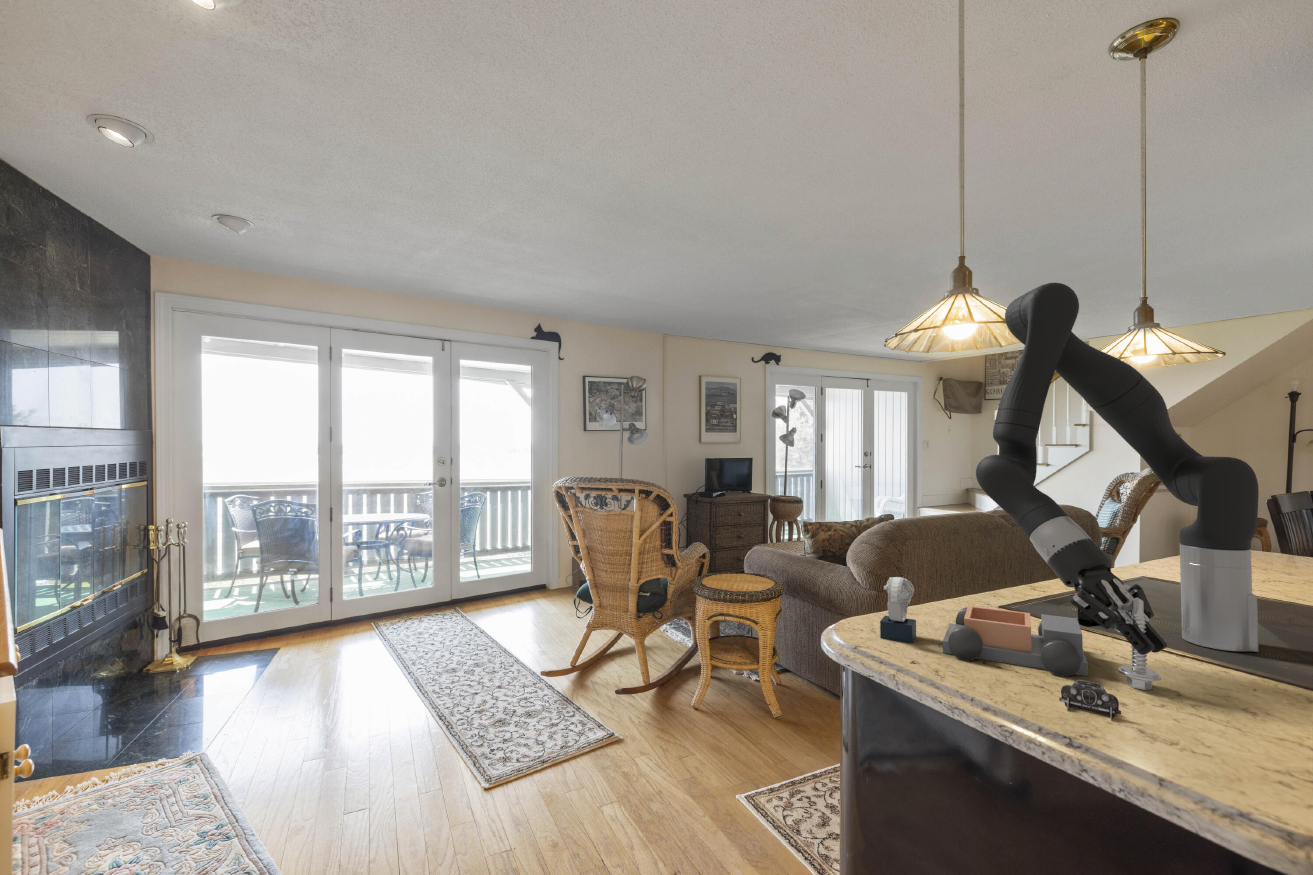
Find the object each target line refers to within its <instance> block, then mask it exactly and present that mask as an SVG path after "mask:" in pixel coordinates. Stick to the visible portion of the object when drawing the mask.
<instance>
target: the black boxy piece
mask: <svg viewBox="0 0 1313 875" xmlns="http://www.w3.org/2000/svg"><path fill="white" fill-rule="evenodd" d="M1097 614H1098V615H1099V613H1097ZM1076 618H1077V621H1078V623H1079V626H1083V627H1086V628H1091V627H1093V628H1094V627H1102V626H1101V625H1100V624H1098V623H1097V622H1096V621H1094V620H1093V619H1092V618H1090V617H1089V616H1088V615H1086V614H1085V613H1084V612H1082V611H1081V610H1080V609H1078V608H1077V617H1076ZM1104 619H1106V618H1104Z"/></svg>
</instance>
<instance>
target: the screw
mask: <svg viewBox="0 0 1313 875" xmlns="http://www.w3.org/2000/svg"><path fill="white" fill-rule="evenodd" d="M1130 616H1131V617H1132V618H1131V619H1132V621H1133V624H1132V625H1134V624H1136V625H1137V626H1138V627H1139V628H1140V629H1141V631H1142V632H1143V633H1144V634H1145V632H1147V631H1146V630H1145V628H1146V626H1145V624H1146V622H1145V620H1146V618H1144V605H1143V600H1141V599H1139V598H1138V597H1137V598H1135V599H1132V614H1131V613H1130ZM1145 635H1146V634H1145ZM1146 636H1147V635H1146ZM1130 648H1131V650H1130V652H1131V654H1130V656H1131V658H1130V660H1131V661H1132V662H1130V664H1122V665H1120V666H1118V668H1117V671H1118V672H1119V674H1121V675H1123V676H1124V677H1126V684H1127V685H1128V686H1130V687H1131V688H1132V689H1136V690H1138V689H1139V690H1142V691H1149V690H1153V682H1157V681H1161V680H1162V675H1161V674H1160V673H1159V672H1157V671H1156V670H1154V669H1152V668H1149V667H1147V665H1148V663H1147V661H1148V659H1147V657H1148V654H1144V655H1141V654H1139V653H1138V651H1137V650H1136V649H1135V648H1134V647H1133V646H1132V645H1131V646H1130Z"/></svg>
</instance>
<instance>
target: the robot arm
mask: <svg viewBox="0 0 1313 875" xmlns="http://www.w3.org/2000/svg"><path fill="white" fill-rule="evenodd" d="M1079 312H1080V302H1079V297H1078V296H1077V294H1076V292H1075V291H1074V290H1073V288H1072V287H1070V286H1069V285H1067V284H1065V283H1061V282H1048V283H1044V284H1042V285H1039V286H1037V287H1036V288H1033V289H1032V290H1030V291H1028V292H1025V293H1023V294H1022V295H1020V296H1019V297H1017V298H1015V299H1014V300H1012V301H1011V302H1010V303H1009V304H1008V305H1007V307H1006V308H1005V313H1004V321H1005V325H1006V327H1007V329H1008V330H1009V332H1010V333H1011V334H1012V335H1013V337H1014V338H1015V339H1017V340H1018V341H1019V342H1020V343H1022V344H1023V345H1024V348H1023V351H1022V354H1021V355H1020V356H1021V357H1020V359H1019V361H1018V363H1017V366H1016V368H1015V370H1014V372H1013V373H1012V375H1011V377H1010V379H1009V381H1008V383H1007V385H1006V386H1005V388H1004V391H1003V393H1002V394H1001V398H1000V401H999V403H998V408H997V411H996V412H997V413H996V415H995V420H994V426H993V429H992V439H993V440H994V441H995V442H996V443H997V445H998V452H999V453H998V454H990V455H989V456H988V455H987V456H985V457H984V458H982V459H981V460H979V462H978V464H977V466H976V468H975V477H976V478H975V479H976V481H977V483H978V485H979V487H980V488H981V490H982V491H983V492H984V493H985V494H986V495H987V496H988V497H989V498H990V499H991V500H992V501H993V502H994V503H995V504H996V505H997V506H999V508H1001V509H1002V510H1003V511H1004V512H1005V513H1007V515H1009V516H1010V517H1011V518H1012V520H1014V522H1015V523H1016V525H1017V526H1018V527H1019V528H1020V530H1021V531H1022V532H1023V533H1024V535H1025V536H1026V537H1027V539H1028V540H1030V542H1031V543H1032V545H1033V547H1034V549H1035V550H1036V552H1037V553H1038V554H1039V556H1041V558H1042V559H1043V560H1044V562H1045V563H1046V564H1047V565H1048V566H1049V568H1050V569H1051V570H1052V571H1053V572H1054V574H1055V575H1056V576H1057V577H1058V579H1059V580H1060V581H1061V582H1062V584H1063V585H1064V586H1066V587H1068V588H1074V591H1075V592H1076V593H1075V594H1074V595H1072V596H1071V597H1070V598H1069V603H1071V605H1073V606H1075V607H1076V609H1077V610H1078V609H1080V610H1081V611H1082V612H1084V613H1085V614H1086V615H1088V616H1089V617H1090V618H1092V619H1093V620H1094V621H1096V622H1097V623H1098V624H1100V625H1101V626H1100V627H1103V628H1104V629H1105V630H1109V629H1114V631H1116V632H1118V633H1121V634H1122V635H1123V637H1124V638H1125V639H1126V640H1127V641H1128V643H1129V644H1130V645H1131V646H1133V647H1134V648H1135V649H1136V650H1137V651H1138V653H1139V654H1141V655H1144V654H1146V655H1148V654H1149V653H1152V654H1153V653H1154V654H1155V653H1160V652H1161V651H1163V650H1165V649H1166V648H1167V647H1168V644H1167V642H1166V641H1165V640H1164V638H1163V637H1161V636H1160V633H1158V632H1157V631H1156V630H1155V628H1154V627H1153V626H1152V625H1151V623H1150V620H1151V619H1152V618H1154V617H1155V613H1154V611H1153V609H1152V607H1151V605H1150V601H1148V598H1147V596H1146V594H1145V592H1144V589H1143V588H1142V586H1141V585H1139V584H1136V583H1135V584H1133V585H1132V586H1130V585H1128V584H1125V583H1124V582H1123V580H1122V579H1120V577H1117V576H1116V575H1115V574H1114V573H1113V572H1112V570H1111V569H1112V566H1113V562H1112V560H1111V559H1110V558H1109V557H1108V555H1107V554H1106V553H1105V552H1104V551H1103V550H1102V549H1101V547H1100V546H1098V544H1097V543H1096V542H1095V541H1094V540H1093V539H1092V538H1091V537H1090V536H1089V534H1087V533H1086V531H1085V530H1084V529H1083V528H1082V527H1081V526H1080V525H1079V524H1077V523H1076V522H1075V521H1074V520H1073V519H1072V518H1071V517H1070V516H1069V515H1068V514H1067V513H1066V512H1065V510H1064V509H1063V508H1062V507H1061V506H1060V505H1059V504H1058V503H1057V502H1056V501H1055V500H1054V499H1053V497H1050V496H1049V495H1047V494H1046V493H1044V492H1042V491H1041V490H1040V489H1038V488H1037V487H1036V486H1035V485H1034V484H1035V482H1036V478H1037V472H1038V470H1037V468H1038V467H1037V466H1038V462H1037V461H1038V459H1037V458H1038V453H1037V438H1038V434H1039V430H1040V426H1041V422H1042V417H1043V412H1044V407H1045V404H1046V399H1047V397H1048V393H1049V389H1050V386H1051V383H1052V380H1053V377H1054V374H1055V373H1057V374H1058V375H1059V376H1060V377H1061V378H1062V379H1063V380H1064V381H1065V382H1066V383H1067V384H1068V385H1069V386H1070V387H1071V388H1072V389H1073V390H1075V392H1077V394H1079V396H1080V397H1081V398H1082V399H1083V400H1084V401H1085V402H1086V403H1087V405H1089V406H1090V408H1092V409H1093V411H1094V412H1096V413H1097V415H1098V416H1099V417H1100V418H1101V419H1103V421H1105V422H1106V423H1107V424H1108V425H1109V426H1110V427H1111V428H1112V429H1113V430H1114V431H1115V432H1116V433H1117V434H1118V435H1119V436H1120V437H1121V438H1122V439H1123V440H1124V441H1125V442H1126V443H1127V444H1128V445H1129V446H1130V447H1131V448H1132V449H1133V450H1134V451H1135V452H1136V453H1137V454H1138V455H1140V457H1141V458H1142V459H1143V460H1144V461H1145V463H1146V464H1147V465H1148V466H1149V468H1150V469H1151V470H1152V471H1153V473H1154V474H1155V476H1157V478H1158V479H1159V480H1160V481H1161V483H1162V484H1163V486H1164V487H1165V488H1166V489H1167V490H1168V491H1169V492H1170V493H1171V495H1172V496H1173V497H1174V498H1175V499H1177V500H1179V501H1180V502H1182V503H1185V504H1187V505H1190V506H1194V507H1197V512H1196V514H1197V515H1196V519H1195V520H1194V521H1193V523H1191V524H1189V525H1187V526H1184V527H1182V528H1181V529H1180V530H1179V533H1178V534H1179V535H1178V536H1179V568H1180V569H1179V570H1180V572H1179V573H1180V576H1179V577H1180V604H1181V605H1180V606H1181V608H1180V609H1181V612H1180V613H1181V626H1180V627H1181V638H1182V639H1183V640H1185V641H1186V642H1189V643H1191V644H1194V645H1197V646H1201V647H1206V648H1211V649H1215V650H1221V651H1229V652H1230V651H1231V652H1254V653H1259V651H1260V650H1259V620H1258V618H1259V617H1258V597H1257V595H1256V594H1254V593H1253V575H1252V572H1253V571H1252V570H1253V568H1252V540H1253V538H1254V537H1255V534H1256V532H1257V529H1258V521H1259V520H1258V519H1259V518H1258V515H1259V483H1258V482H1259V481H1258V477H1257V475H1256V472H1255V471H1254V469H1253V468H1252V466H1251V465H1250V464H1249V463H1247V462H1246V461H1245V460H1242V459H1241V458H1237V457H1231V456H1205V455H1203V454H1200V453H1199V452H1198V451H1197V450H1195V449H1194V448H1192V446H1190V445H1189V444H1188V443H1187V441H1185V440H1184V439H1183V438H1182V437H1181V436H1180V435H1179V434H1178V432H1177V431H1176V429H1175V428H1174V426H1173V424H1172V422H1171V420H1170V414H1169V412H1168V411H1169V410H1168V407H1167V404H1166V402H1165V399H1164V398H1163V396H1162V394H1161V393H1160V391H1158V389H1156V387H1155V386H1153V385H1152V383H1151V382H1150V381H1149V380H1148V379H1147V378H1146V377H1145V376H1144V375H1143V374H1141V372H1140V371H1138V370H1137V369H1136V368H1134V367H1133V366H1132V365H1130V364H1129V363H1127V362H1126V361H1123V360H1121V359H1119V358H1117V357H1115V356H1114V355H1110V354H1109V353H1106V352H1105V351H1102V350H1099V349H1097V348H1095V347H1093V346H1091V345H1089V344H1088V343H1086V342H1085V341H1084V340H1082V339H1081V338H1079V337H1078V336H1077V335H1076V334H1075V333H1074V332H1073V331H1072V330H1073V328H1074V325H1075V323H1076V321H1077V318H1078V314H1079ZM1137 597H1138V598H1139V599H1141V600H1143V605H1144V618H1146V620H1145V622H1146V624H1145V626H1146V628H1145V630H1146V631H1147V632H1145V634H1146V635H1147V636H1146V635H1145V634H1144V633H1143V632H1142V631H1141V629H1140V628H1139V627H1138V626H1137V625H1136V624H1134V625H1132V624H1133V621H1132V619H1131V618H1132V615H1131V614H1132V599H1135V598H1137ZM1081 611H1080V612H1081ZM1097 613H1099V615H1098V614H1097ZM1104 618H1106V619H1104Z"/></svg>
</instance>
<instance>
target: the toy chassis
mask: <svg viewBox="0 0 1313 875" xmlns="http://www.w3.org/2000/svg"><path fill="white" fill-rule="evenodd" d="M1040 615H1041V621H1040V622H1039V623H1038V626H1037V632H1038V633H1037V634H1033V633H1032V625H1031V624H1032V621H1031V612H1024V611H1023V612H1022V611H1016V610H1006V609H1000V608H991V607H983V606H982V607H981V606H974V605H967V606H966V607H964V608H961V609H960V610H959V611H958V612H957V614H956V617H955V623H952V622H951V623H950V622H949V624H948V627H947V630H946V632H945V634H944V637H943V640H942V653H943V654H946V655H947V654H948V655H954V656H955V657H957V658H958V659H960V660H962V661H974V660H976V659H980V660H984V661H991V662H998V663H1005V664H1010V665H1016V666H1017V665H1018V666H1022V667H1023V666H1024V667H1027V668H1028V667H1029V668H1036V669H1041V670H1047V671H1049V673H1052V674H1053V675H1056V676H1060V677H1070V676H1073V675H1079V676H1085V677H1088V676H1089V670H1088V669H1089V668H1088V661H1087V656H1086V654H1085V651H1084V648H1083V645H1084V643H1083V642H1084V641H1083V632H1082V629H1081V625H1079V623H1078V621H1077V618H1078V617H1068V616H1061V615H1059V616H1058V615H1050V614H1043V613H1042V614H1040Z"/></svg>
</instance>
